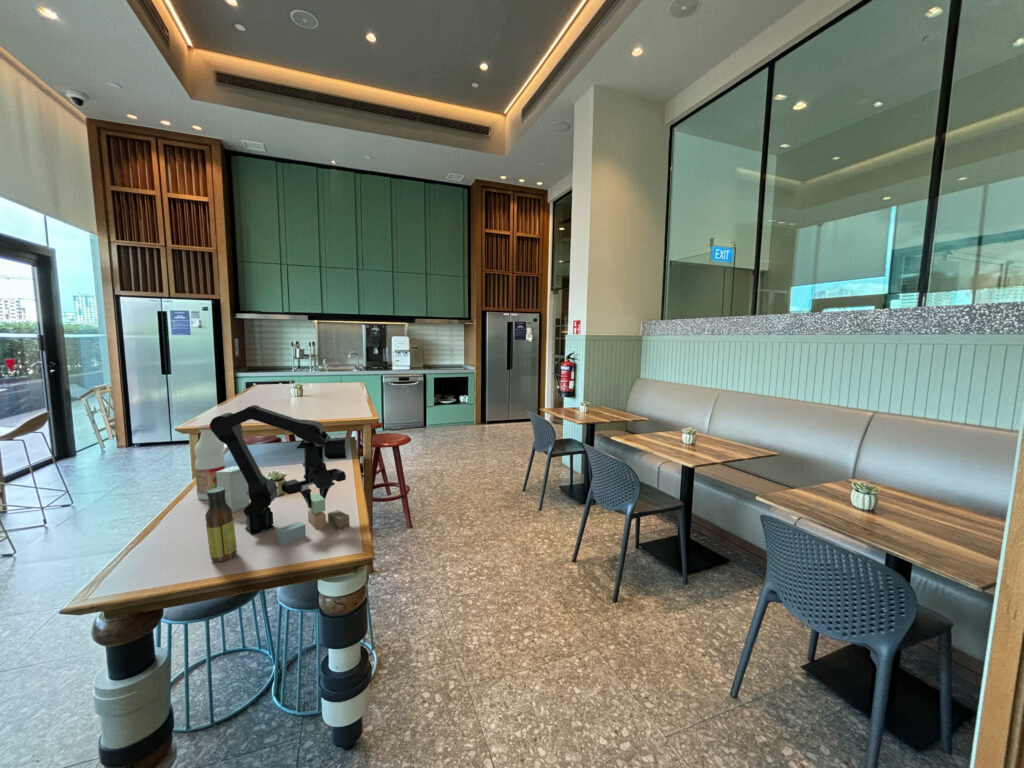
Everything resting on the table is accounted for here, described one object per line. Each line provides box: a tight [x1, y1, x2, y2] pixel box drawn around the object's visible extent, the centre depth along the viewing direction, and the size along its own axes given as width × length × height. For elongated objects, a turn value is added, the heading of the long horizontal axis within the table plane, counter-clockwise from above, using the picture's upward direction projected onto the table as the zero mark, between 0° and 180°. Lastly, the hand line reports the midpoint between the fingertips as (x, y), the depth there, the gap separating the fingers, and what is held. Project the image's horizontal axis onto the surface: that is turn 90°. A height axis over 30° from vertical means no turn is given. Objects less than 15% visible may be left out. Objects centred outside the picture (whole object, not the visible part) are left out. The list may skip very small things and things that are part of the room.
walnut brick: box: [327, 509, 350, 531], centre depth 135 cm, size 7×4×4 cm, turn 52°
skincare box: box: [216, 465, 251, 514], centre depth 148 cm, size 8×6×15 cm
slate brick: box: [275, 521, 307, 546], centre depth 125 cm, size 7×4×4 cm, turn 144°
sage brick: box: [306, 492, 326, 514], centre depth 136 cm, size 7×4×4 cm, turn 43°
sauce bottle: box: [204, 488, 238, 563], centre depth 114 cm, size 7×6×20 cm
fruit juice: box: [193, 424, 226, 501], centre depth 158 cm, size 9×9×28 cm
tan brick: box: [307, 509, 327, 529], centre depth 136 cm, size 7×4×4 cm, turn 42°
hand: (316, 505), depth 136 cm, fingers closed on sage brick, 4 cm apart
